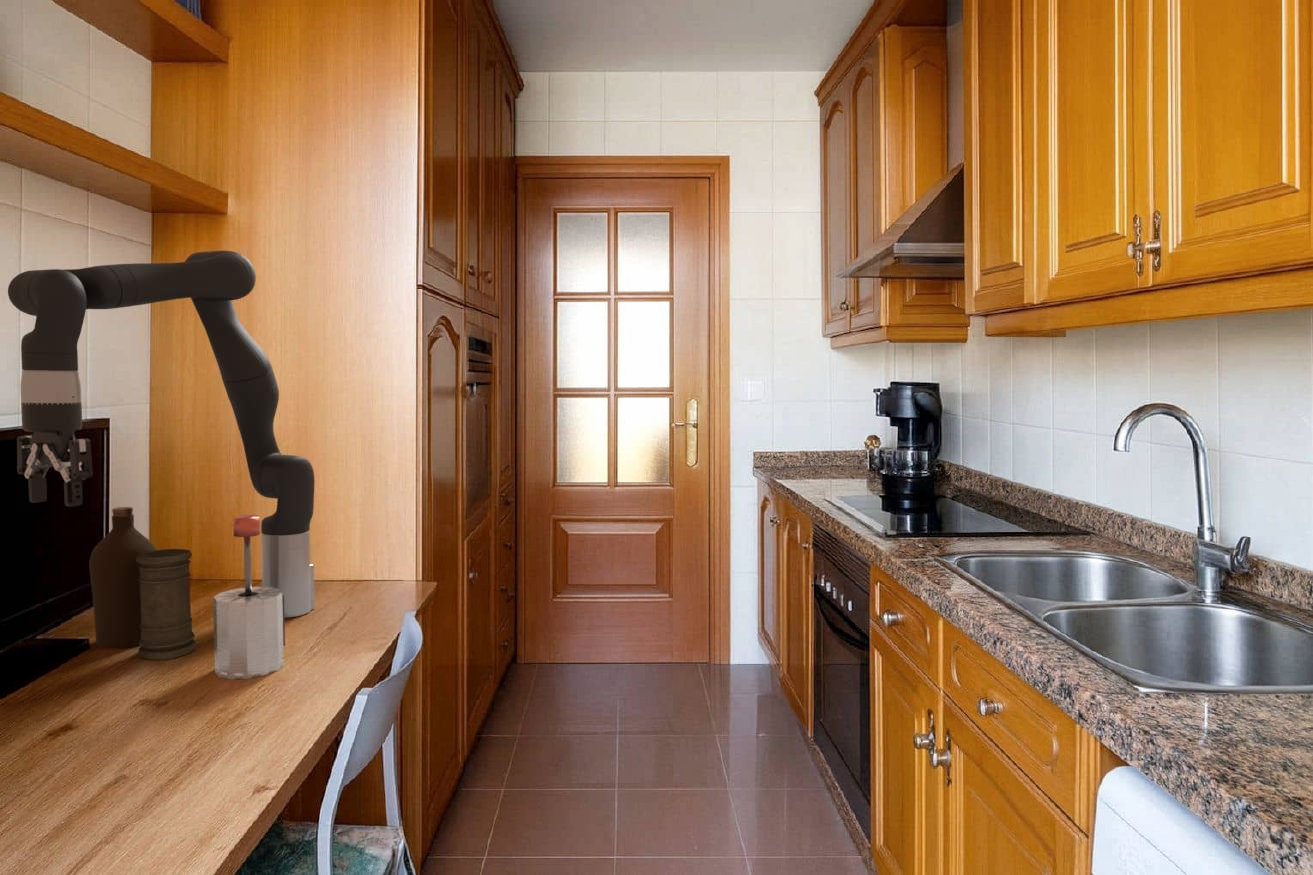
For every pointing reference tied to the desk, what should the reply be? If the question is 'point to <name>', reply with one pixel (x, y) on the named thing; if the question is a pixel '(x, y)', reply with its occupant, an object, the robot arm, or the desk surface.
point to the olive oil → (118, 582)
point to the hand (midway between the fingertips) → (55, 503)
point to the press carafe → (248, 632)
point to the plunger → (247, 542)
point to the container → (165, 604)
